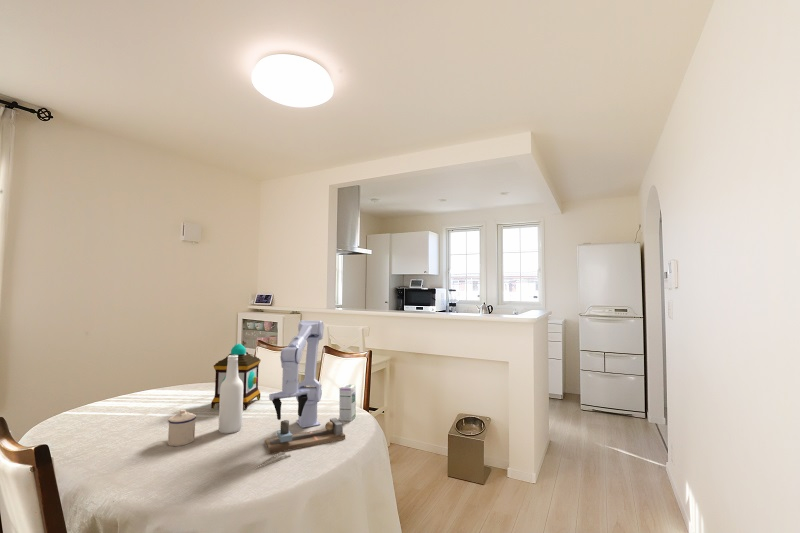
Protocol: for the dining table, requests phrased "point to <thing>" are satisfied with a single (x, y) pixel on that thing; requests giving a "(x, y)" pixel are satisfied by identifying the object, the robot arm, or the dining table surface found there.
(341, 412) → the syrup box
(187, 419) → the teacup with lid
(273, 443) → the press bench
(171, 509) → the dining table surface
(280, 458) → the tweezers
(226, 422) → the alcohol
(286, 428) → the handle
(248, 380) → the decorative lantern
